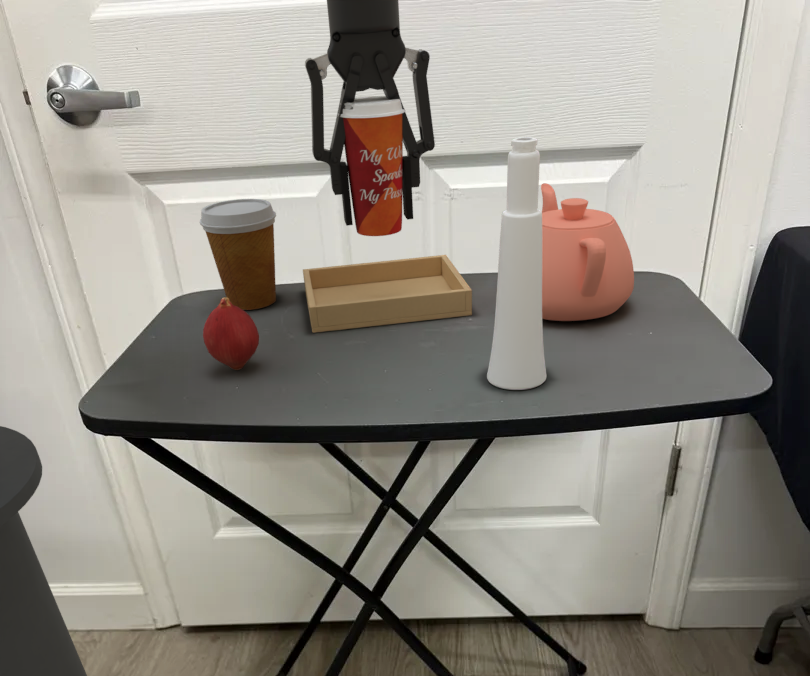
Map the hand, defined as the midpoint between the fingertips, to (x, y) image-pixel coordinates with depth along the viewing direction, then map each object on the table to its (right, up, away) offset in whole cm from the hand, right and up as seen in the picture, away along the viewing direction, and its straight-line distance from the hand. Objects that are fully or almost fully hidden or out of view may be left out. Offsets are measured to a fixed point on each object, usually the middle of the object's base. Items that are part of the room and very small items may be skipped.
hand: (378, 219), depth 94 cm
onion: (-15, -20, -9) cm, 27 cm away
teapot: (+23, -10, +2) cm, 25 cm away
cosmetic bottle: (+15, -23, -15) cm, 31 cm away
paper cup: (0, -1, +1) cm, 1 cm away
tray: (+1, -8, +6) cm, 10 cm away
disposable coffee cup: (-17, -7, +9) cm, 21 cm away
